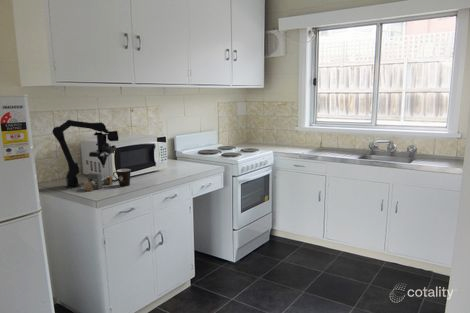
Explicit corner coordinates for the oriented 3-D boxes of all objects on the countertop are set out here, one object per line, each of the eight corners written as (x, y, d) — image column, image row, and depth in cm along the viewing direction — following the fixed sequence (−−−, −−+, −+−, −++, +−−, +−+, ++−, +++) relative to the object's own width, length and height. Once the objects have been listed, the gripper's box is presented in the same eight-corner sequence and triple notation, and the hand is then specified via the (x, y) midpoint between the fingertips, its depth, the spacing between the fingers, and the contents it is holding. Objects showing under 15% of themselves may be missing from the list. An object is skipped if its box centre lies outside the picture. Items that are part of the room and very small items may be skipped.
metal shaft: (91, 191, 221) (90, 182, 220) (84, 190, 223) (84, 182, 222) (112, 184, 238) (111, 176, 237) (106, 183, 240) (105, 175, 239)
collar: (98, 189, 225) (97, 174, 223) (88, 188, 228) (87, 173, 226) (102, 188, 228) (101, 173, 226) (92, 186, 231) (91, 172, 229)
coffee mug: (134, 185, 235) (133, 170, 233) (122, 187, 228) (121, 172, 227) (124, 182, 242) (123, 167, 241) (112, 184, 236) (111, 169, 234)
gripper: (101, 144, 225) (103, 169, 227) (121, 140, 242) (122, 163, 244) (87, 143, 229) (89, 167, 232) (108, 139, 246) (109, 162, 249)
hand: (103, 165), depth 239 cm, fingers closed
